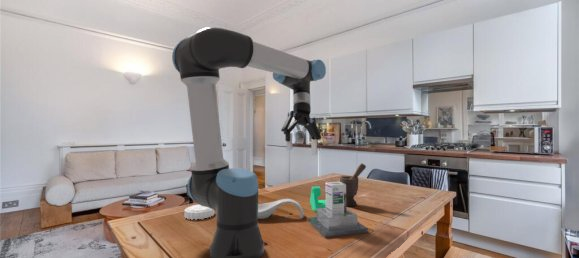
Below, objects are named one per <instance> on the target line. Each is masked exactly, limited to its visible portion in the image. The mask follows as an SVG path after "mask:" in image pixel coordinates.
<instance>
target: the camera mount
mask: <svg viewBox="0 0 579 258" xmlns="http://www.w3.org/2000/svg"><path fill="white" fill-rule="evenodd" d="M321 196H322V188H321V186H311V192H310V196H309V197H310V198H309V204H310V206H311V209H312V210H313V211H314V212H317V208H326V199H319V197H321Z"/></svg>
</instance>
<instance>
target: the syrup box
mask: <svg viewBox="0 0 579 258" xmlns="http://www.w3.org/2000/svg"><path fill="white" fill-rule="evenodd" d="M324 185H325V186H324V187H325V188H324V189H325V200H326V213H327V214H328V215H329V216H339V215H346V208H347V206H346V184H344V183H342V182H340V181H332V182H331V181H330V182H325V184H324Z"/></svg>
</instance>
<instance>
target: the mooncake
mask: <svg viewBox="0 0 579 258" xmlns="http://www.w3.org/2000/svg"><path fill="white" fill-rule="evenodd" d="M215 211H216V210H213V209H211V208H208V207H205V206H201V205H200V204H193V205H190V206H188V207H186V208H184V211H183V212H184V213H183V214H184V215H183V216H184V218H185V219H186V218H187V219H186V220H190V219H191V221H198V220H197V219H201V220H205V219H204V218H207V217H210V218H212V217H214V216H215V214H216V213H215ZM211 216H212V217H211ZM193 219H195V220H193ZM207 219H208V218H207Z"/></svg>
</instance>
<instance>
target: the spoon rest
mask: <svg viewBox="0 0 579 258" xmlns="http://www.w3.org/2000/svg"><path fill="white" fill-rule="evenodd" d="M286 204H291V205H294V206H295V207H296V208H297V209H298V210H299V212H298V213H299V217H300V219H303V218H304V211H303V207H302V206H301V204H300V203H299V202H298V201H297V200H294V199H291V198H283V199H282V198H281V199H278V200H275V201H271V202H265V203H258V220H263V219H267V218H270V216H271V215H272V214H273V213H274V212H275V211H277V209H278V208H280V206H283V205H286Z"/></svg>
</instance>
